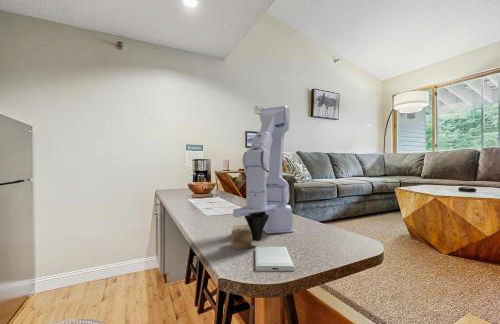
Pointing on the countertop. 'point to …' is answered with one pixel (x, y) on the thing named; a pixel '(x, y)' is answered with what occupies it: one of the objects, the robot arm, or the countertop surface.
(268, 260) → the hard drive
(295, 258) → the countertop surface
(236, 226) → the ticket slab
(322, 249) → the countertop surface
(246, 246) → the stub block
